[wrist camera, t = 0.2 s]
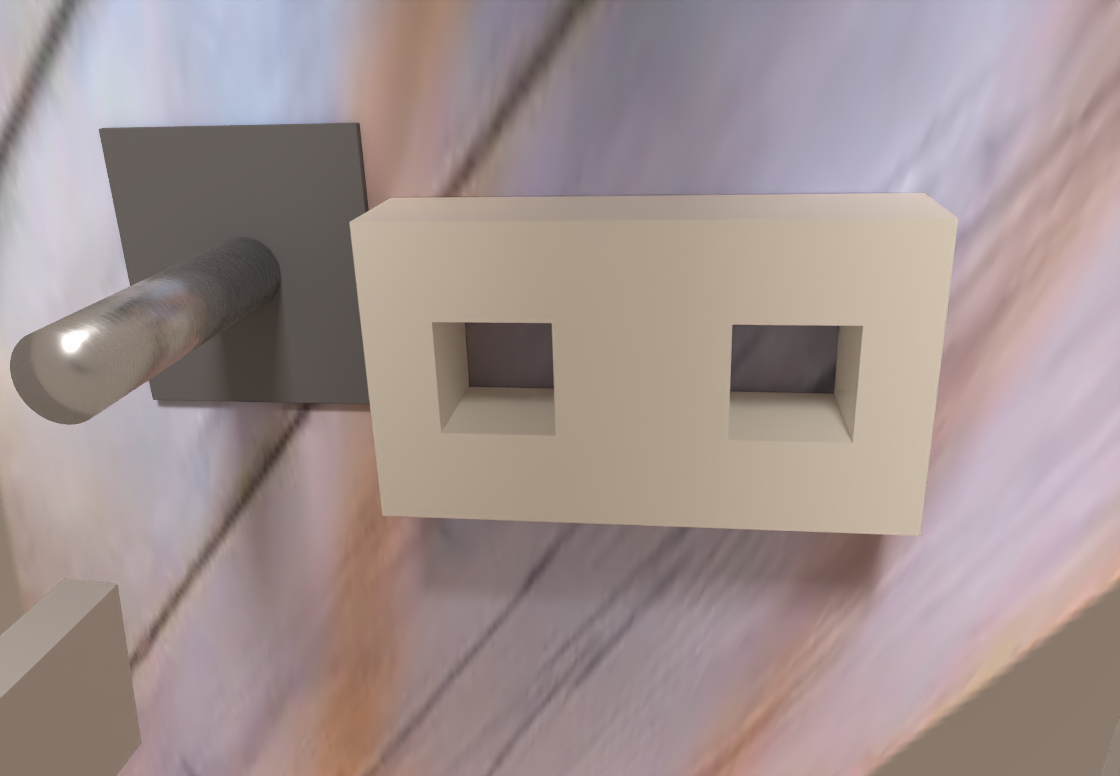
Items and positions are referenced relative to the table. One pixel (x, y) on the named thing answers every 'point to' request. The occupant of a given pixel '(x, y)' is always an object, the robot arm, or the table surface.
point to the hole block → (656, 357)
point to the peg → (140, 330)
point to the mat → (269, 217)
